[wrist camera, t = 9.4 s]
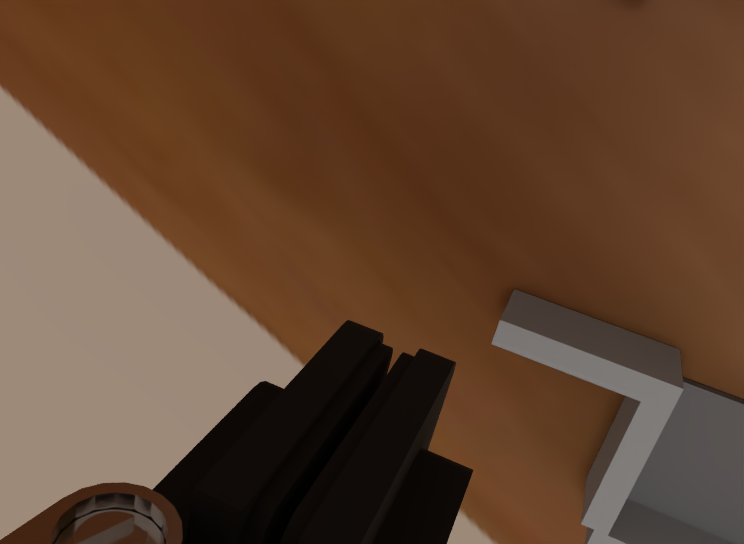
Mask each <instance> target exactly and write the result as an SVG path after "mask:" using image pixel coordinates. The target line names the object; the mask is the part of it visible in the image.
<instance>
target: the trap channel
mask: <svg viewBox="0 0 744 544" xmlns="http://www.w3.org/2000/svg"><path fill="white" fill-rule="evenodd" d="M492 344H493V345H495V346H498V347H501V348H503V349H506V350H508V351H511V352H514V353H516V354H519V355H521V356H524V357H527V358H529V359H532V360H534V361H537V362H539V363H542V364H545V365H547V366H550V367H552V368H555V369H558V370H560V371H563V372H565V373H568V374H570V375H573V376H576V377H578V378H581V379H583V380H586V381H589V382H591V383H594V384H596V385H599V386H602V387H604V388H607V389H609V390H612V391H614V392H617V393H620V394H622V395H625V398H624V400H623V402H622V404H621V406H620V408H619V410H618V413H617V415H616V417H615V419H614V421H613V423H612V425H611V427H610V429H609V431H608V434H607V436H606V438H605V440H604V442H603V444H602V446H601V448H600V450H599V452H598V454H597V457H596V459H595V461H594V463H593V465H592V467H591V469H590V471H589V473H588V475H587V480H586V488H585V496H584V504H583V512H582V520H581V524H582V525H585V526H587V532H586V541H585V544H744V400H742V399H739V398H737V397H734V396H731V395H729V394H726V393H723V392H721V391H718V390H715V389H713V388H710V387H707V386H705V385H702V384H699V383H697V382H694V381H691V380H689V379H686V378H683V376H682V365H681V354H680V349H677V348H674V347H672V346H669V345H666V344H664V343H661V342H658V341H655V340H653V339H650V338H647V337H644V336H642V335H639V334H636V333H633V332H631V331H628V330H625V329H622V328H620V327H617V326H614V325H612V324H609V323H606V322H603V321H601V320H598V319H595V318H592V317H590V316H587V315H584V314H581V313H579V312H576V311H573V310H571V309H568V308H565V307H562V306H560V305H557V304H554V303H551V302H549V301H546V300H543V299H540V298H538V297H535V296H532V295H529V294H527V293H524V292H521V291H519V290H516V289H514V290H513V293H512V295H511V297H510V299H509V301H508V304H507V306H506V308H505V310H504V312H503V315H502V317H501V319H500V321H499V324H498V327H497V330H496V333H495V335H494V338H493V341H492Z"/></svg>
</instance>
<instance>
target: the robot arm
mask: <svg viewBox="0 0 744 544" xmlns="http://www.w3.org/2000/svg"><path fill="white" fill-rule="evenodd" d="M382 343H383V333H380V332H378V331H375V330H373V329H370V328H368V327H365V326H363V325H360V324H358V323H355V322H353V321H350V320H347V321H346V322H345V323H344V324H343V325H342V326H341V327H340V328H339V329H338V330H337V331H336V333H335V334H334V335H333V336H332V337H331V338H330V339H329V340H328V341H327V342H326V344H325V345H324V346H323V347H322V348H321V349H320V350H319V351H318V352H317V353H316V354H315V356H314V357H313V358H312V359H311V360H310V361H309V362H308V363H307V364H306V365H305V367H304V368H303V369H302V370H301V371H300V372H299V373H298V375H296V376H295V378H294V379H293V380H292V381H291V382H290V383H289V384H288V385H287V386H286V387H285V389H283V388H281V387H278V386H276V385H274V384H271V383H269V382H267V381H264V382H260V383H259V384H258V385H256V386H255V387H254V388H253V389H252V390H251V391H250V392H249V393H248V394H247V395H246V396H245V397H244V398H243V399H242V400H241V401H240V402H239V403H238V404H237V405H236V406H235V407H234V408H233V409H232V410H231V411H230V412H229V413H228V414H227V415H226V416H225V417H224V418H223V419H222V420H221V421H220V422H219V423H218V424H217V425H216V426H215V427H214V428H213V429H212V430H211V431H210V432H209V433H208V434H207V435H206V436H205V437H204V438H203V439H202V440H201V441H200V442H199V443H198V444H197V445H196V446H195V447H194V448H193V449H192V450H191V451H190V452H189V453H188V454H187V455H186V457H184V458H183V459H182V460H181V461H180V462H179V464H178V465H176V466H175V468H173V470H171V471H170V472H169V473H168V475H167V476H166V477H165V478H164V479H163V480H162V481H161V482H160V483H159V484H158V485H157V486H156V487H155V488H154V489H153V490H151V489H149V488H147V487H144V486H139V485H135V484H130V483H102V484H98V485H94V486H90V487H86V488H82V489H80V490H78V491H76V492H74V493H72V494H70V495H68V496H67V497H64V498H62V499H61V500H59V501H58V502H56V503H55V504H53V505H52V506H50V507H49V508H47V509H46V510H44V511H43V512H41V513H40V514H39V515H37V516H35V517H34V518H32V519H31V520H29V521H28V522H27V523H25V524H24V525H22V526H21V527H19V528H18V529H16V530H15V531H13V532H12V533H10V534H9V535H7V536H6V537H4V538H3V539H1V540H0V544H447V541H448V538H449V535H450V533H451V530H452V527H453V525H454V522H455V519H456V516H457V514H458V511H459V508H460V505H461V503H462V500H463V497H464V495H465V492H466V489H467V486H468V484H469V481H470V478H471V475H472V473H473V470H472V469H470V468H467V467H465V466H463V465H460V464H458V463H456V462H453V461H451V460H449V459H446V458H444V457H442V456H439V455H437V454H435V453H432V452H430V451H428V447H429V444H430V441H431V438H432V435H433V432H434V429H435V426H436V423H437V420H438V418H439V415H440V412H441V409H442V406H443V403H444V400H445V397H446V394H447V391H448V388H449V385H450V382H451V379H452V376H453V373H454V369H455V366H456V362H454V361H451V360H449V359H446V358H444V357H441V356H439V355H436V354H434V353H431V352H429V351H426V350H424V349H419V351H418V352H417V353H416V355H415V357H414V356H412V355H409V354H407V353H404V352H403V353H402V354H401V355H400V357H399V358H398V359H397V361H396V362H395V364H394V365H393V367H392V368H391V370H390V371H389V373H388V374H387V372H388V368H389V365H390V361H391V358H392V353H393V348H391V347H389V346H386V345H384V344H382ZM386 375H387V376H386Z"/></svg>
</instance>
